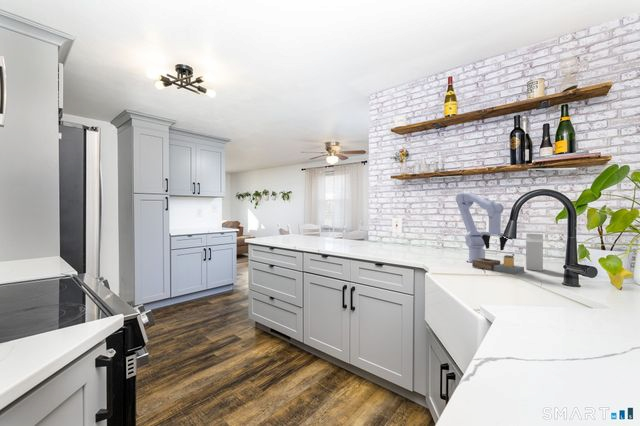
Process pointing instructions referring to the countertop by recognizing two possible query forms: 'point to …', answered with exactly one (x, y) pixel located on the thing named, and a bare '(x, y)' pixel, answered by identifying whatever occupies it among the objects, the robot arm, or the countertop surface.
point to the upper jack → (485, 263)
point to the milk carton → (534, 252)
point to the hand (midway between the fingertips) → (494, 249)
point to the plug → (508, 261)
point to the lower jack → (509, 269)
